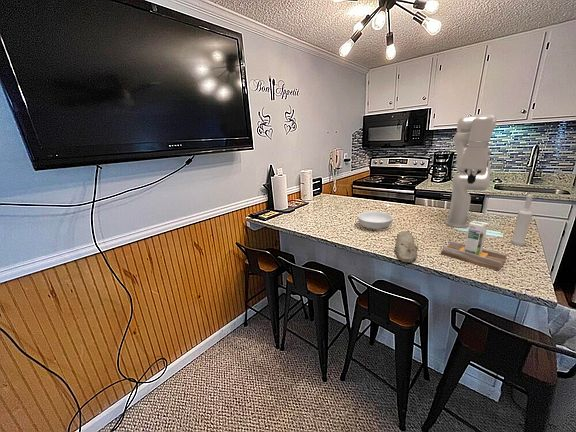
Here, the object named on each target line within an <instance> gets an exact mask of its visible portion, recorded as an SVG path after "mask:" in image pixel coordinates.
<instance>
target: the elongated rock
mask: <svg viewBox="0 0 576 432" xmlns="http://www.w3.org/2000/svg"><path fill="white" fill-rule="evenodd" d="M412 234H413V233H411V232H409V231H401V232H399V233H398V234H397V235H396V239H395V241H396V242H395V251H396V255H397V257H398V260H400V262H403V263H413V262H414V261H416V260H417V257H418V250H419V246H417V245H415V238H414V236H413V235H412Z"/></svg>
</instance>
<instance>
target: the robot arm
mask: <svg viewBox="0 0 576 432" xmlns="http://www.w3.org/2000/svg"><path fill="white" fill-rule="evenodd" d="M496 125H497V118H496V115H494V113H493V114H492V113H490V114H475V115H473V114H472V115H469V116H463V117H462V116H461V117H460V118H459V119H458V120H457V124H456V131H457V132H456V133H455V134H454V137H453V142H454V148H455V152H456V154H457V155H456V156H457V157H456V171H457V173H456V174H455V175H454V176H453V178H452V192H451V199H450V206H449V212H448V216H447V217H448V219H445V221H444V225H446V226H448V227H452V228H459V229H464V228H469V224H470V222H468V221H467V220H468V216H469V212H470V207H471V206H470V205H471V200H472V196H471V194H470V193H469V192H468V191H486V190H488V189H489V188H490V184H491V161H490V157H491V156H490V154H491V150H490V148H491V147H489V146H493V142H491V141H490V140H491V137H492V135H493V132H494V130H495V128H496Z"/></svg>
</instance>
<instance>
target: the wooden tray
mask: <svg viewBox="0 0 576 432" xmlns="http://www.w3.org/2000/svg"><path fill="white" fill-rule="evenodd" d="M465 244H466V243H465ZM465 244H464V243H461V242H456V241H453V240H448V245H447V246H445V245H443V246H442V250H441V251H440V255H442V256H446V257H450V258H453V259H457V260H459V261H463V262H467V263H469V264H473V265H477V266H481V267H484V268H487V269H490V270H494V271H497V272H499V271H500V270H501V269H502V267H503V266H504V264H505V263H506V261H507V255H508V254H506V253H505V254H504V253H501V252H497V251H493V250H489V249H485V248H483V249H482V252H484V253H488V256H487V257H482V256H479V255H475V254H471V253H468V252H464V251H460V249H461V248H462V247H465Z"/></svg>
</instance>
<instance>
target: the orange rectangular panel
mask: <svg viewBox="0 0 576 432" xmlns="http://www.w3.org/2000/svg"><path fill="white" fill-rule="evenodd" d="M464 249H465V247H462V248H461V249H460V251H464ZM479 256H482V257H487V256H488V253H484V252H481V254H480V255H479Z"/></svg>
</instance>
